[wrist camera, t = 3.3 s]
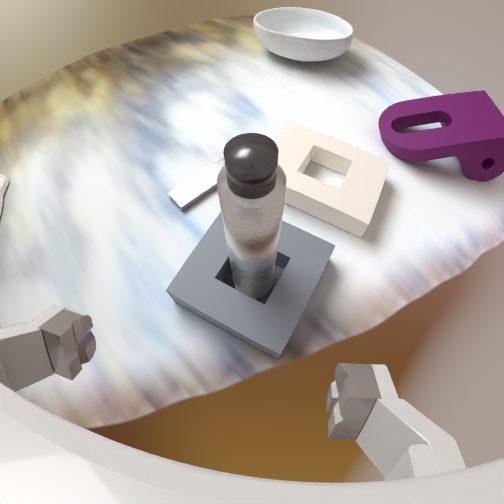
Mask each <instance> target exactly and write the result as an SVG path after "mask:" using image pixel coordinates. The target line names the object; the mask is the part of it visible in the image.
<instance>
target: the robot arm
mask: <svg viewBox="0 0 504 504" xmlns="http://www.w3.org/2000/svg"><path fill="white" fill-rule="evenodd" d="M8 183H9V179H8V178H7V177H6V176H5V175H2V174H0V215H1V210H2V203H3V196H4V193H5V191H6V188H7V186H8ZM92 327H93V324H92V320H91V317H89V316H88V315H86V314H83V313H80V312H77V311H74V310H71V309H68V308H65V307H62V306H59V305H53V306H52V307H51V308H49V309H48V310H47V311H45V312H44V313H42V314H41V315H40V316H38V317H37V318H36V319H34V320H33V321H32V322H30V323H29V324H27V323H23V324H19V325H15V326H10V327H6V328H2V329H0V504H504V458H500V459H497V460H494V461H491V462H488V463H484V464H480V465H477V466H473V467H468V468H466V467H465V464H464V461H463V459H462V456H461V453H460V451H459V448H458V446H457V443H456V441H455V439H454V438H453V437H451V436H450V435H449V434H447V433H446V432H445V431H444V430H442V429H441V428H440V427H438V426H437V425H436V424H434V423H433V422H432V421H430V420H429V419H428V418H427V417H425V416H424V415H423V414H421V413H420V412H419V411H418V410H416V409H415V408H414V407H412V406H411V405H410V404H409V403H407V402H406V401H405V400H403V399H399V398H398V395H397V393H396V390H395V387H394V384H393V382H392V379H391V377H390V374H389V371H388V369H387V367H386V366H385V365H373V364H370V365H361V364H348V363H339V364H338V365H337V367H336V370H335V381H334V382H332V383H331V385H330V388H329V391H328V396H327V412H328V413H329V414H330V415H331V416H330V419H329V421H328V431H329V438H332V439H349V440H356V442H357V443H358V445H359V446H360V447H361V448H362V450H363V451H364V452H365V454H366V455H367V456H368V457H369V458H370V460H371V461H372V462H373V463H374V465H375V466H376V467H377V468H378V470H379V471H380V472H381V473H382V474H383V476H384V477H385V479H384V480H383V481H377V482H357V483H317V482H298V481H285V480H274V479H264V478H257V477H250V476H243V475H237V474H231V473H225V472H219V471H215V470H210V469H206V468H201V467H197V466H192V465H188V464H184V463H180V462H177V461H173V460H169V459H166V458H162V457H159V456H156V455H152V454H149V453H146V452H143V451H140V450H137V449H134V448H132V447H129V446H126V445H123V444H120V443H118V442H115V441H113V440H110V439H107V438H105V437H102V436H100V435H98V434H95V433H93V432H91V431H89V430H86V429H84V428H82V427H80V426H77V425H75V424H73V423H71V422H69V421H67V420H65V419H63V418H61V417H59V416H57V415H55V414H53V413H51V412H49V411H47V410H46V409H44V408H42V407H40V406H38V405H37V404H35V403H33V402H31V401H30V400H28V399H26V398H24V397H23V396H21V395H19V394H18V393H16V391H18V390H20V389H22V388H24V387H27V386H29V385H31V384H33V383H35V382H38V381H40V380H42V379H44V378H46V377H48V376H51V375H53V374H54V373H56V374H58V375H61V376H63V377H65V378H68V379H71V380H73V379H74V378H75V377H76V376H77V374H78V373H79V372H80V371H81V370H82V364H84V363H87V362H89V361H90V360H91V358H92V357H93V355H94V352H95V350H96V341H95V337H94V335H93V334H92V332H91V329H92Z"/></svg>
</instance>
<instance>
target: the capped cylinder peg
mask: <svg viewBox="0 0 504 504" xmlns="http://www.w3.org/2000/svg"><path fill="white" fill-rule="evenodd" d="M278 153H279V150H278V147H277V145H276V143H275V142H274V141H273V140H272V139H270V138H269V137H267V136H265V135H262V134H257V133H246V134H241V135H238V136H236V137H234V138H232V139H231V140H230V141H229V142H228V143H227V144H226V145H225V148H224V161H225V165H224V166H223V168H222V169H221V170H220V172H219V174H218V177H217V188H218V194H219V200H220V206H221V212H222V218H223V224H224V230H225V236H226V242H227V247H228V253H229V259H230V265H231V270H232V276H233V281H234V286H235V288H236V290H238V291H240V292H242V293H244V294H246V295H247V296H249V297H251V298H253V299H256V298H260V297H263V296H265V295H266V294H267V293H268V292H269V291H270V290H271V288H272V285H273V280H274V273H275V266H276V259H277V252H278V245H279V237H280V230H281V222H282V215H283V207H284V199H285V191H286V183H287V182H286V175H285V173H284V171H283V169H282V168H281V167H280V166H279V165H278Z"/></svg>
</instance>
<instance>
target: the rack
mask: <svg viewBox="0 0 504 504" xmlns="http://www.w3.org/2000/svg"><path fill="white" fill-rule="evenodd" d="M274 142H275V143H276V145H277V147H278V150H279V153H278V165H279V166H280V167H281V168H282V169H283V171H284V173H285V175H286V182H287V183H286V191H285V199H284V203H286V204H288V205H290V206H293V207H295V208H297V209H299V210H301V211H304V212H306V213H308V214H310V215H312V216H315V217H317V218H319V219H321V220H323V221H325V222H328V223H330V224H332V225H334V226H336V227H338V228H340V229H342V230H344V231H347V232H349V233H351V234H353V235H355V236H357V237H359V238H362V236H363V234H364V233H365V231H366V229H367V227H368V226H369V223H370V221H371V218H372V215H373V213H374V210H375V207H376V204H377V202H378V199H379V196H380V193H381V190H382V187H383V184H384V181H385V178H386V175H387V172H388V169H389V166H390V163H389V162H387V161H385V160H383V159H381V158H378V157H376V156H374V155H372V154H370V153H368V152H365V151H363V150H361V149H359V148H356V147H354V146H352V145H349V144H347V143H345V142H342V141H340V140H337V139H335V138H332V137H330V136H327V135H325V134H322V133H320V132H317V131H314V130H312V129H309V128H306V127H304V126H301V125H298V124H295V123H293V122H289V123H288V125H287V126H286V127H285V128H284V130H283V131H282V132H281V133H280V135H279V136H278V137H277V138H276V140H275V141H274ZM310 161H312V162H314V163H317V164H319V165H322V166H324V167H326V168H329V169H331V170H333V171H336V172H338V173H340V174H342V175H345V179H344V181H343V183H342V185H341V187H340V189H337V188H335V187H333V186H330V185H328V184H326V183H324V182H321V181H319V180H317V179H314V178H312V177H310V176H307V175H305V174H303V173H304V171H305V169H306V168H307V166H308V165H309V163H310Z"/></svg>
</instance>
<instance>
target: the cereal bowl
mask: <svg viewBox="0 0 504 504" xmlns="http://www.w3.org/2000/svg"><path fill="white" fill-rule="evenodd" d="M254 31H255V35H256V37H257V39H258V41H259V42H260V43H261V45H263V46H264V47H265V48H266V49H268V50H269V51H271V52H272V53H275V54H277V55H280V56H283V57H286V58H288V59H291V60H295V61H300V62H315V61H325V60H329V59H333V58H336V57H338V56H340V55H341V54H343V53H344V52H345V51H346V50H347V49H348V47H349V46H350V44H351V41H352V37H353V28H352V26H351V25H350V24H349V23H348V22H346V21H345V20H343V19H341V18H339V17H337V16H335V15H332V14H330V13H326V12H323V11H319V10H314V9H306V8H294V7H285V8H275V9H269V10H265V11H262V12H260V13H258V14H257V15H256V16H255V17H254Z"/></svg>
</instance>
